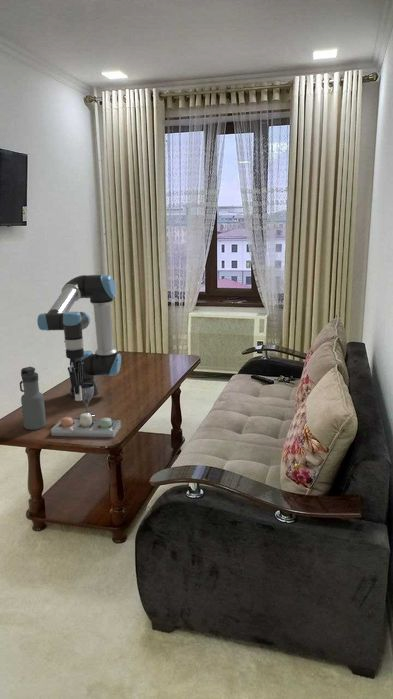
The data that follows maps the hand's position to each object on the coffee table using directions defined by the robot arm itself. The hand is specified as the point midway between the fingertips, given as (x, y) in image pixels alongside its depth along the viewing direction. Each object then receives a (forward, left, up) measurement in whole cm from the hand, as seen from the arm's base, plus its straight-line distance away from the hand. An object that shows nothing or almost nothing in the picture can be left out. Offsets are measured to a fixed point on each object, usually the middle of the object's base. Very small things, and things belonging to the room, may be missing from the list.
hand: (78, 400), depth 223 cm
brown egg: (0, -7, -14) cm, 16 cm away
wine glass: (-19, -4, -15) cm, 25 cm away
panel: (0, +2, -15) cm, 15 cm away
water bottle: (-4, -24, -15) cm, 28 cm away
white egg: (0, +2, -12) cm, 12 cm away
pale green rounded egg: (0, +11, -14) cm, 18 cm away
